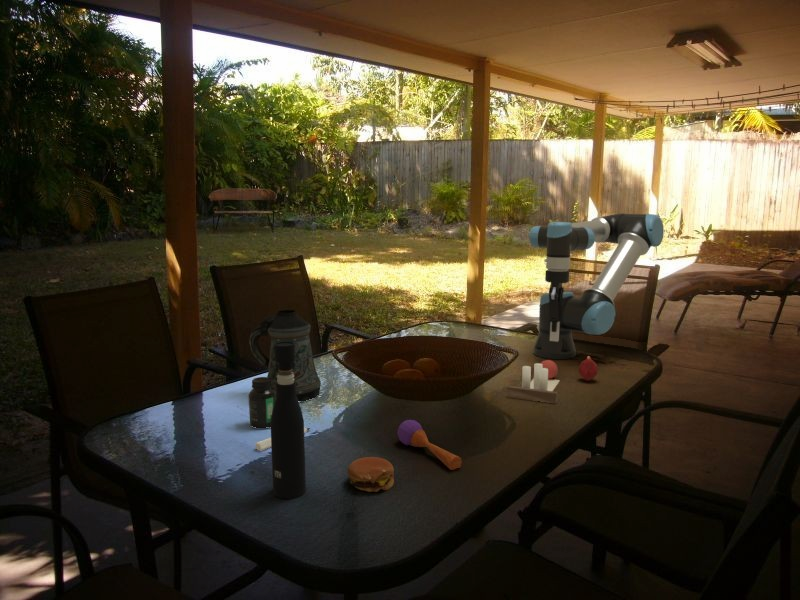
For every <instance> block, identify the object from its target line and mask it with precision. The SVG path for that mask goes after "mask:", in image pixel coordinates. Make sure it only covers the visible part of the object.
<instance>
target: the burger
mask: <svg viewBox="0 0 800 600" xmlns="http://www.w3.org/2000/svg"><path fill="white" fill-rule="evenodd" d="M394 472H395V469H394V466H393V464H392V463H391V462H390V461H389V460H387V459H385V458H381V457H377V456H368V457H367V456H366V457H361V458H358V459H355V460H353V461H352V462H351V463H349V465H348V467H347V476H348V478H349V483H350V484H351V485H352V486H353V487H355V488H356V489H357V490H360V491H365V492H368V493H370V492H374V493H376V492H379V491H380V490H383V491H388V490H390V489H391V488H392V487H393V486H394V483H395V479H394V477H395V473H394Z"/></svg>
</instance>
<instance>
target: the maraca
mask: <svg viewBox="0 0 800 600" xmlns="http://www.w3.org/2000/svg"><path fill="white" fill-rule="evenodd" d="M397 436H398V439H399V441H400V442H401V443H402V444H404V445H405V446H408V445H410V446H411V447H414V448H415V447H416V448H424V447H426V448H427V449H428V450H429V451H430V452H431V453H432V454H433V455H435V457H436V458H437V459H439V460H440V461H441V463H442V464H443V465H445V466H446V467H447V468H448V469H449V470H450V471H451V470H454V469H456V468H459V469H460V468H461V466H462V461H463V460H462V458H461V457H460V456H458V455H456V454H454V453H452V452H450V451H448V450H446V449H444V448H441V447H439V446H437V445H435V444H433V443H431V442H429V439H428V437H427V434H426V432H425V430H424V429H423V427H422V425H421V424H420V423H419V422H418V421H417V420H413V419H406V420H404V421H402V423H400V425H399V426H398V428H397ZM454 471H455V470H454Z"/></svg>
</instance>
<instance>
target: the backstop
mask: <svg viewBox="0 0 800 600" xmlns="http://www.w3.org/2000/svg"><path fill="white" fill-rule="evenodd" d="M506 398H510V399H516V400H525V401H531V400H532V401H533V402H538V401H540V402H541V403H545V402H546V403H547V404H553V405H554V404H557V402H558V391H554V390H553V391H545V390H538V389H530V388H522V386H513V385H508V386H506Z"/></svg>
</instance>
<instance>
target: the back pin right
mask: <svg viewBox="0 0 800 600" xmlns="http://www.w3.org/2000/svg"><path fill="white" fill-rule="evenodd" d="M521 368H522V371H521V373H522V374H521V387H522V388H530V382H531V381H532V379H531V377H532V376H531V372H532V367H531V366H530V365H523V366H522V367H521Z"/></svg>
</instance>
